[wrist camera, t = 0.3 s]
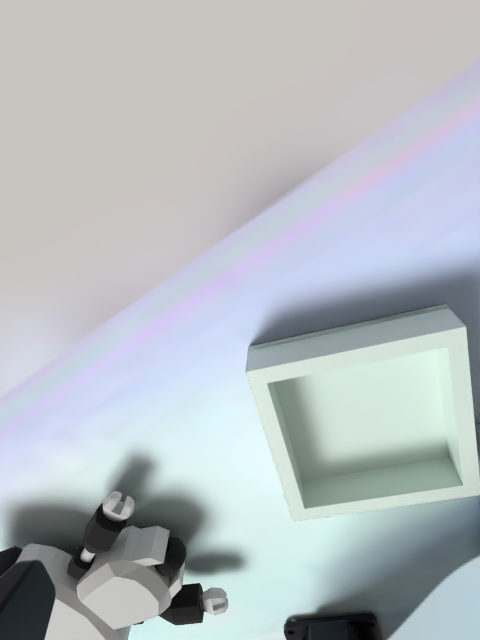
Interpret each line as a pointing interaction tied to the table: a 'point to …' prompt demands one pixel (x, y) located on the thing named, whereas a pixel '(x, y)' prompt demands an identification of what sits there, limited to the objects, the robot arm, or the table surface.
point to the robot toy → (118, 578)
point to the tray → (369, 413)
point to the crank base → (478, 444)
